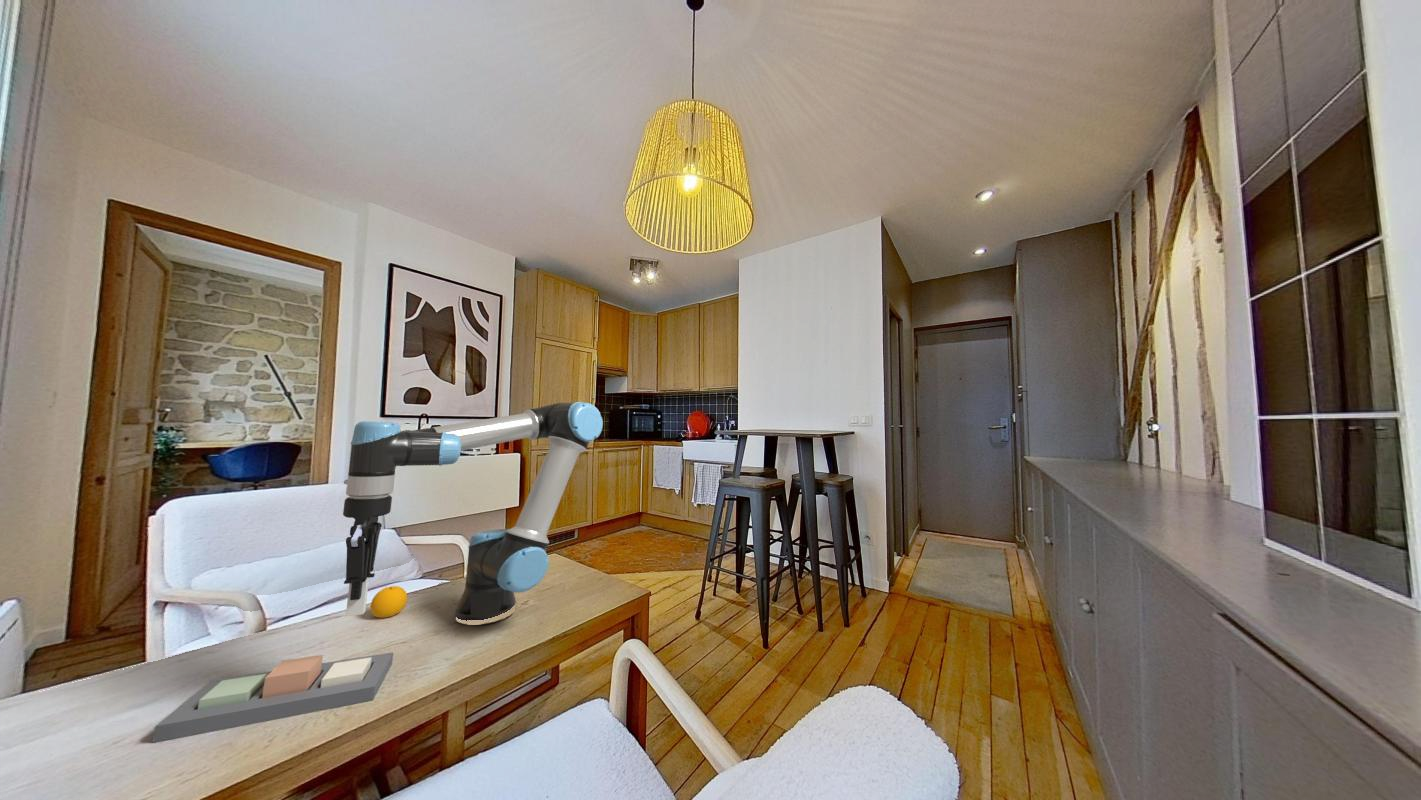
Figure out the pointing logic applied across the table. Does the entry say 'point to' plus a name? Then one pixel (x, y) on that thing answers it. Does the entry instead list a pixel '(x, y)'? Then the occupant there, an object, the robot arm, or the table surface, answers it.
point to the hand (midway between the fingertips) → (355, 613)
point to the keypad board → (271, 703)
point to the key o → (233, 691)
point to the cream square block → (347, 672)
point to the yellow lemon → (388, 601)
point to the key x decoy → (292, 676)
